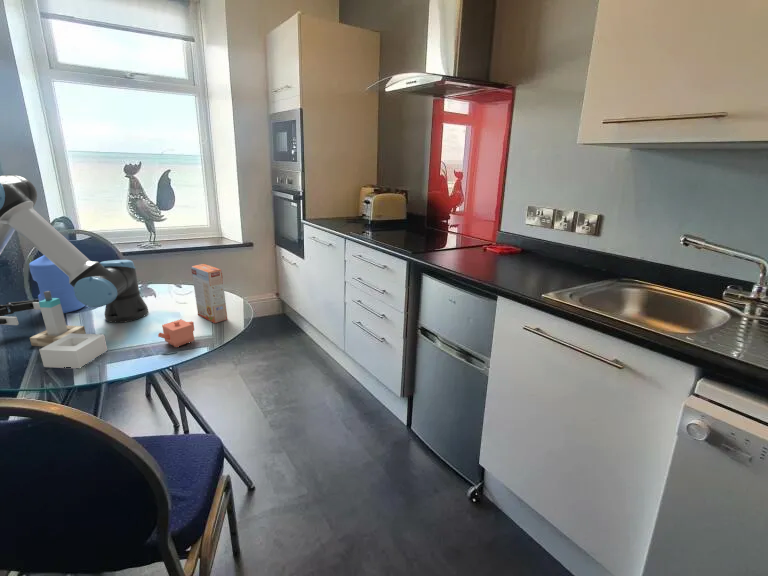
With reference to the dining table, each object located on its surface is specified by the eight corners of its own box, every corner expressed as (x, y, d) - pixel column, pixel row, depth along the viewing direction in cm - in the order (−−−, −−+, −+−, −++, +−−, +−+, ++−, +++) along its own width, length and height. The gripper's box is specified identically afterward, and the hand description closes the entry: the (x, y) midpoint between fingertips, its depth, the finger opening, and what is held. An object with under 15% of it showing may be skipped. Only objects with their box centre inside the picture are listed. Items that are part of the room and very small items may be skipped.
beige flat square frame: (58, 332, 155) (56, 325, 154) (85, 333, 154) (84, 326, 153) (31, 345, 145) (29, 337, 144) (61, 347, 144) (59, 339, 143)
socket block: (74, 349, 142) (70, 333, 140) (107, 350, 141) (103, 334, 139) (44, 367, 131) (39, 349, 129) (80, 368, 130) (75, 351, 128)
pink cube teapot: (155, 346, 144) (151, 324, 142) (189, 335, 153) (186, 314, 150) (166, 353, 139) (162, 330, 137) (200, 341, 148) (197, 319, 146)
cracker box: (228, 319, 167) (222, 269, 160) (214, 324, 162) (207, 272, 156) (211, 311, 175) (204, 262, 169) (197, 315, 171) (190, 265, 165)
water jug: (95, 301, 186) (80, 239, 177) (69, 315, 171) (52, 248, 162) (60, 301, 186) (44, 239, 177) (31, 315, 171) (12, 248, 162)
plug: (59, 336, 151) (46, 289, 146) (69, 337, 151) (57, 290, 145) (49, 341, 148) (36, 293, 142) (60, 342, 147) (47, 293, 142)
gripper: (14, 308, 161) (65, 310, 160) (-56, 336, 138) (3, 338, 136) (8, 290, 159) (61, 291, 157) (-64, 314, 135) (-3, 317, 134)
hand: (34, 313), depth 147 cm, fingers open, 13 cm apart
